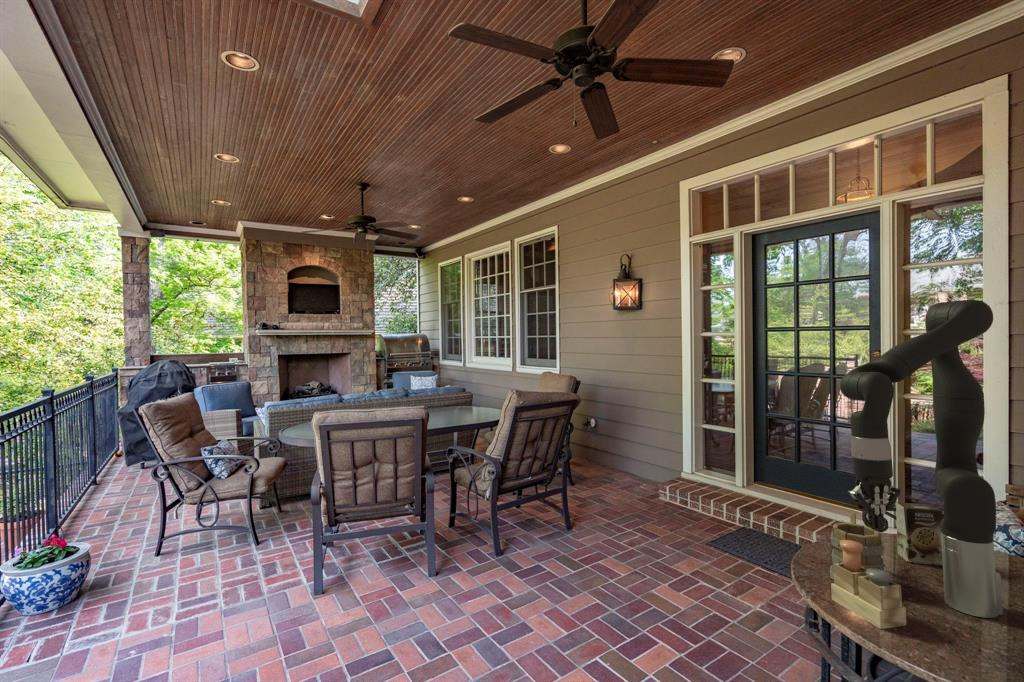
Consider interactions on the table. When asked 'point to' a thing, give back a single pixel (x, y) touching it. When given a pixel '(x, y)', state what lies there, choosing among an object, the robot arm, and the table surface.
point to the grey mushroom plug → (878, 577)
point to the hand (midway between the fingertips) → (876, 529)
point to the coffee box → (919, 533)
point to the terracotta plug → (851, 555)
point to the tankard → (863, 536)
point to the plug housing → (868, 598)
